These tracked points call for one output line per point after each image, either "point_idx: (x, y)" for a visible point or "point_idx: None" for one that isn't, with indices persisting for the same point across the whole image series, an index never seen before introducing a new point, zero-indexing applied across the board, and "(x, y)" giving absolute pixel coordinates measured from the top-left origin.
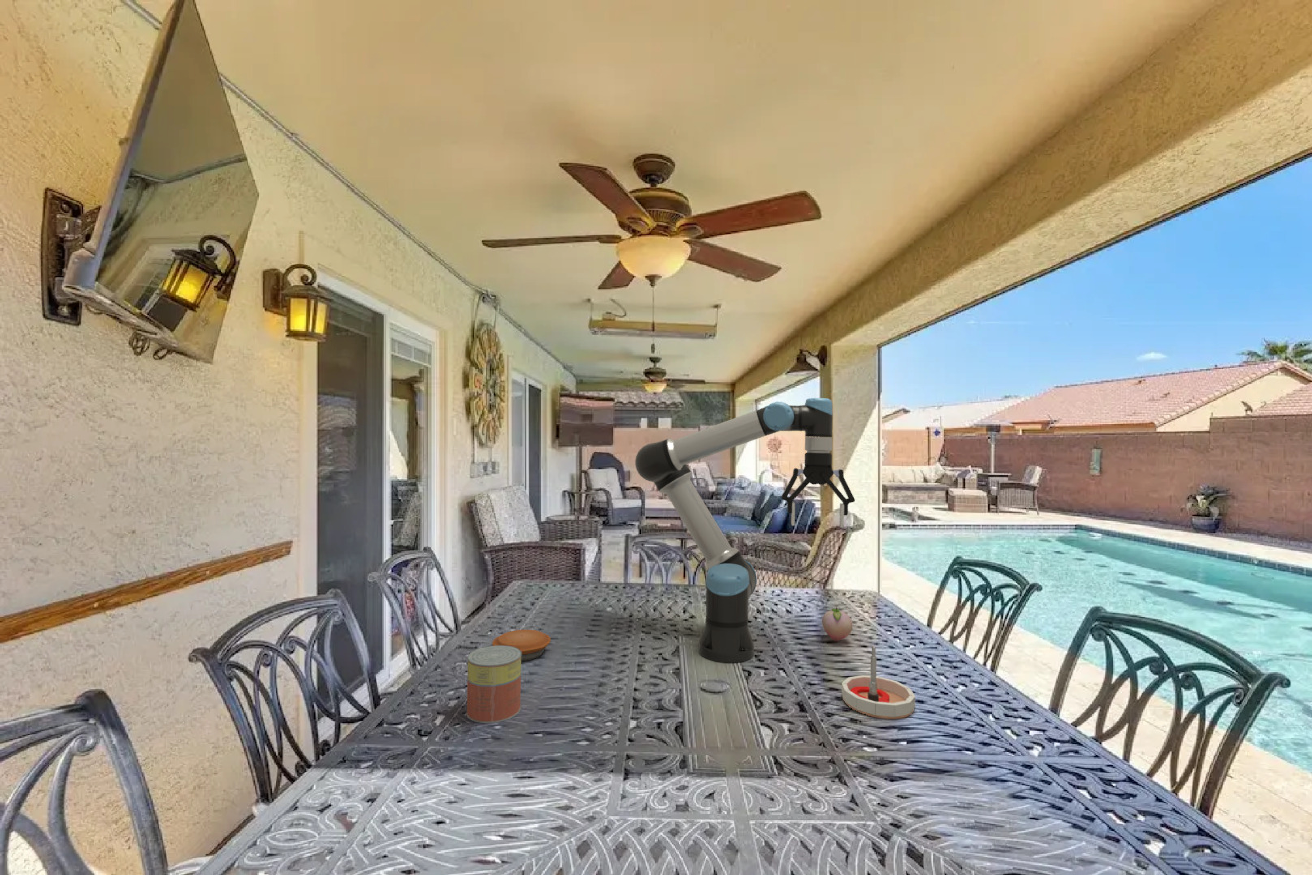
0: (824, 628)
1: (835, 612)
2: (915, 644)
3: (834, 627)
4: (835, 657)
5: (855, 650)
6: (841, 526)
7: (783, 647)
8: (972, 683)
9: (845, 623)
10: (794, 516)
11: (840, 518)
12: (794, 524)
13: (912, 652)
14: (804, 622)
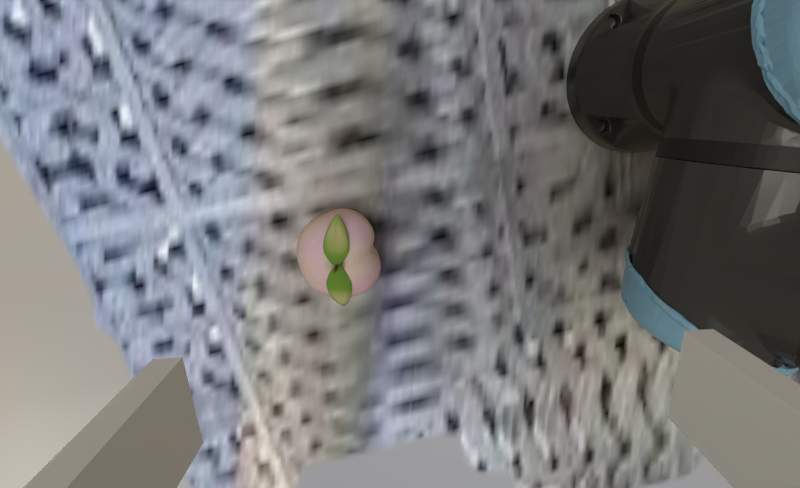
0: (375, 248)
1: (340, 248)
2: (153, 266)
3: (348, 211)
4: (355, 117)
5: (302, 183)
6: (171, 362)
7: (484, 157)
8: (25, 18)
9: (315, 223)
10: (783, 396)
11: (136, 471)
12: (693, 335)
13: (163, 206)
14: (418, 356)
